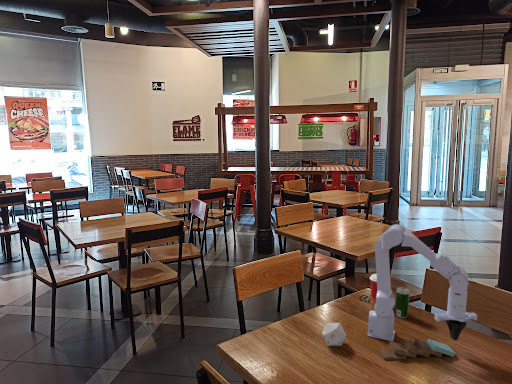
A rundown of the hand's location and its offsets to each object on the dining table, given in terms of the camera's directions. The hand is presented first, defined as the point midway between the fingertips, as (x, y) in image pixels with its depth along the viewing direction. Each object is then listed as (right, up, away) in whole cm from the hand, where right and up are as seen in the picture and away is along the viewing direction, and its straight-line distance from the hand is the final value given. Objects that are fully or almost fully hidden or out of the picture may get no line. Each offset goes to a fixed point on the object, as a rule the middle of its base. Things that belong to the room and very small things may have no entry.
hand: (454, 338), depth 129 cm
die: (-42, -5, +7) cm, 43 cm away
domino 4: (-6, -5, 0) cm, 7 cm away
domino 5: (-1, -5, +1) cm, 5 cm away
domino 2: (-15, -5, 0) cm, 15 cm away
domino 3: (-10, -5, 0) cm, 11 cm away
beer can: (-7, -2, +28) cm, 29 cm away
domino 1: (-19, -5, 0) cm, 19 cm away
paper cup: (-15, 0, +39) cm, 41 cm away
